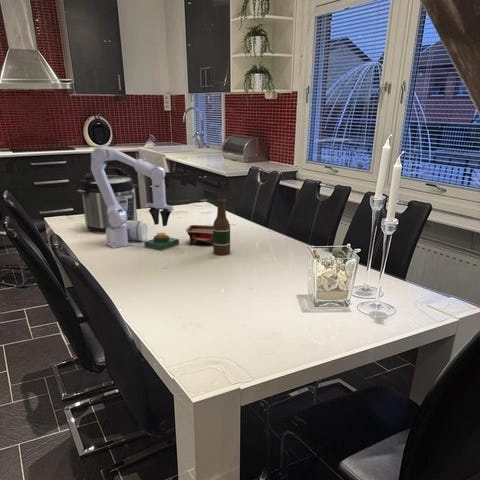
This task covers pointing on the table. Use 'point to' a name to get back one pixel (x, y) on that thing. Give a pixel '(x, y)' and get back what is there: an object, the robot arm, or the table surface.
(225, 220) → the beer bottle
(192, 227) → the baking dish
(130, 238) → the supplement tub
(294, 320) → the table surface
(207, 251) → the table surface
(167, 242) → the button box
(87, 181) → the pressure cooker
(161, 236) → the button
